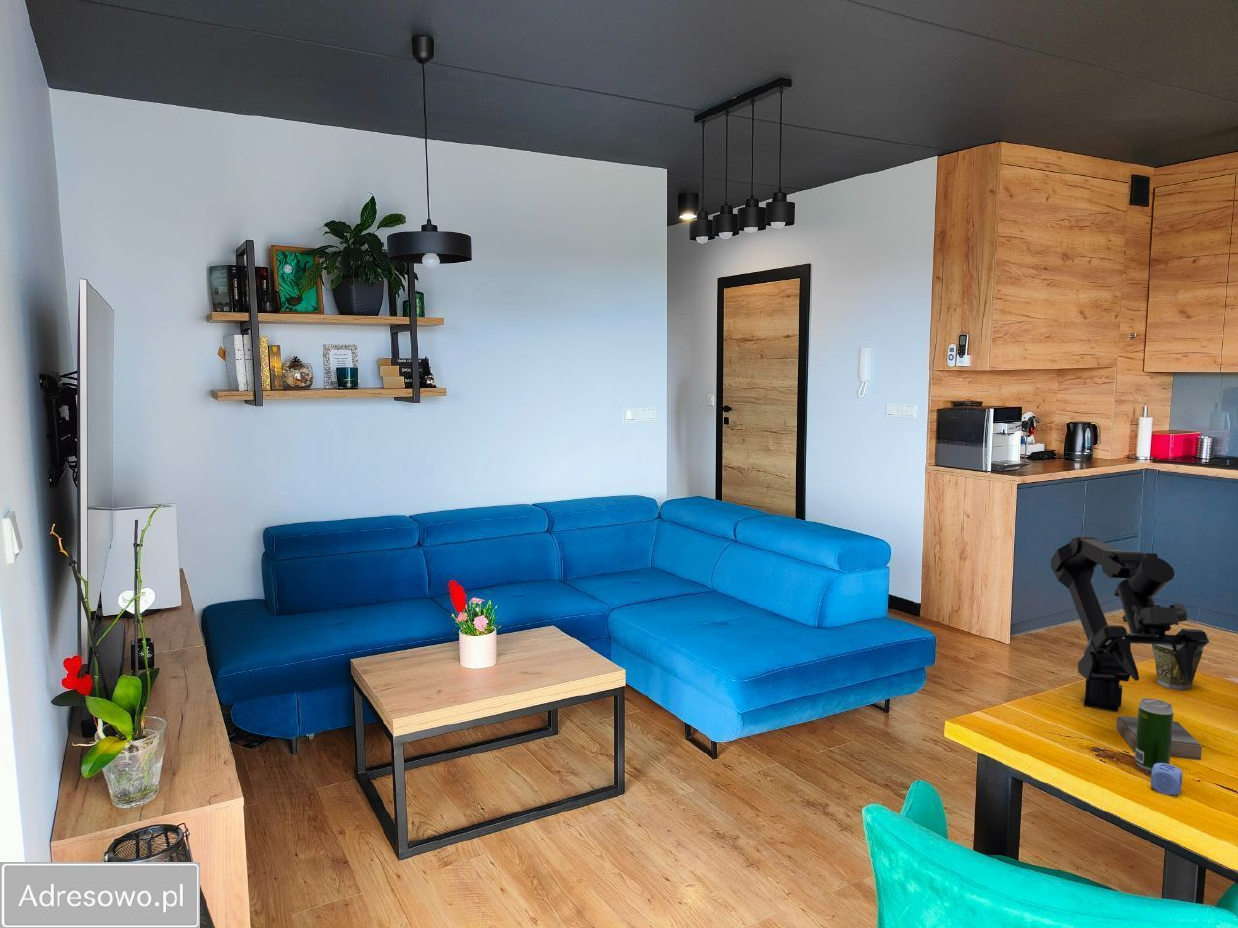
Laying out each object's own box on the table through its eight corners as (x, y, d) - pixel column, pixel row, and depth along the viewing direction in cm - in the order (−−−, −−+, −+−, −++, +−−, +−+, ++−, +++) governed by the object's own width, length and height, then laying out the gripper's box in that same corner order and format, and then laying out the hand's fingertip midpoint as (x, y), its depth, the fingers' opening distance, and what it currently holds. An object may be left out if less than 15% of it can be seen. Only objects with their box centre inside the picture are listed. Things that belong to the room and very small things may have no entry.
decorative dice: (1181, 789, 142) (1183, 767, 141) (1177, 798, 139) (1179, 775, 138) (1154, 782, 144) (1156, 760, 144) (1149, 790, 141) (1151, 768, 141)
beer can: (1151, 774, 147) (1156, 710, 146) (1127, 761, 152) (1131, 698, 151) (1176, 771, 148) (1181, 707, 147) (1151, 758, 153) (1155, 696, 152)
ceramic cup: (1147, 674, 199) (1150, 634, 198) (1197, 682, 194) (1200, 641, 193) (1150, 691, 187) (1153, 649, 186) (1203, 700, 182) (1207, 657, 181)
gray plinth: (1116, 729, 167) (1117, 714, 166) (1177, 735, 164) (1179, 721, 163) (1134, 752, 156) (1135, 737, 156) (1200, 759, 153) (1202, 744, 153)
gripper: (1105, 585, 159) (1128, 661, 150) (1209, 589, 157) (1238, 666, 148) (1084, 611, 168) (1104, 684, 159) (1182, 615, 166) (1208, 689, 156)
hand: (1163, 681), depth 155 cm, fingers open, 9 cm apart
